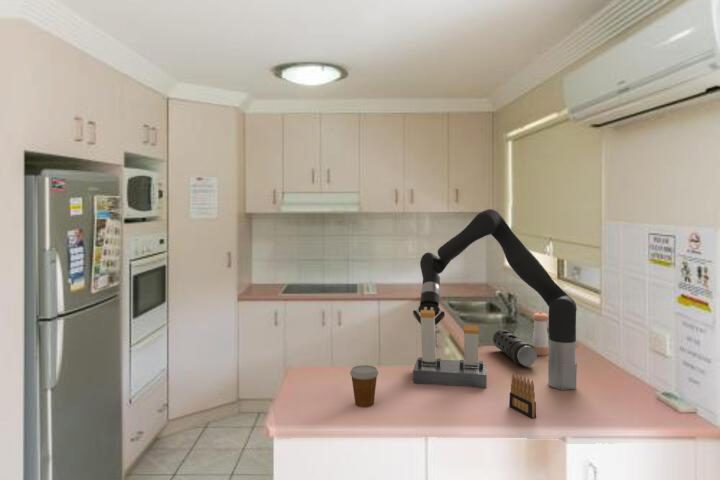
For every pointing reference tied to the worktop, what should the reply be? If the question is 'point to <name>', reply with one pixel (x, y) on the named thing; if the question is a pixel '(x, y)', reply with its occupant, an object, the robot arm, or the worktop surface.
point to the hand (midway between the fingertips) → (427, 333)
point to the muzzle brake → (515, 348)
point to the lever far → (428, 336)
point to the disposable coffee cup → (364, 384)
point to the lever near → (471, 346)
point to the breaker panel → (450, 373)
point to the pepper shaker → (540, 333)
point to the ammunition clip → (522, 396)
